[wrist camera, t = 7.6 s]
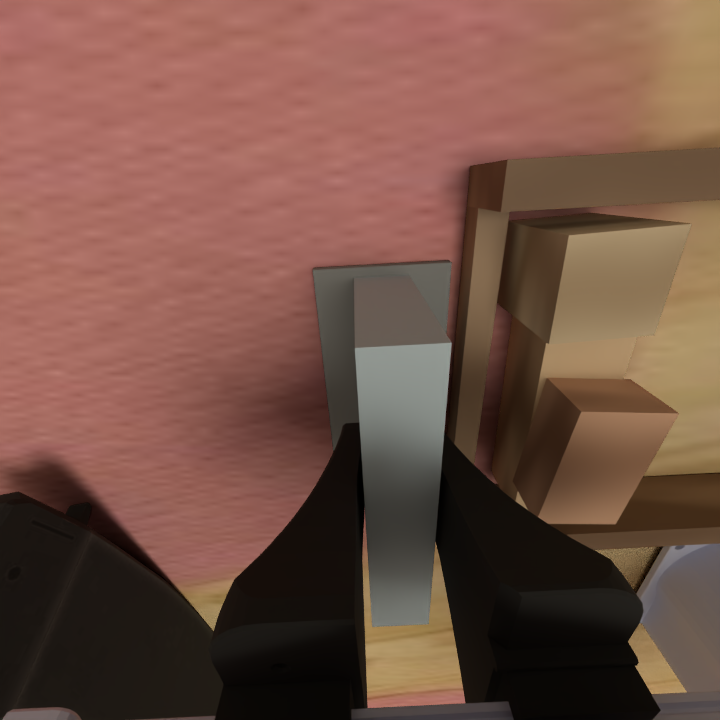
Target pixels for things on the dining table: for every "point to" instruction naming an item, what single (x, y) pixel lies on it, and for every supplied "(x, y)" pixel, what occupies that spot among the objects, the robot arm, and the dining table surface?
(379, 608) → the grey block
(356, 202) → the dining table surface
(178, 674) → the magazine
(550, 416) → the offcut top
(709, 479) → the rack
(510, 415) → the block
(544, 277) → the offcut short
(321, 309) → the grey flat rectangular plate
